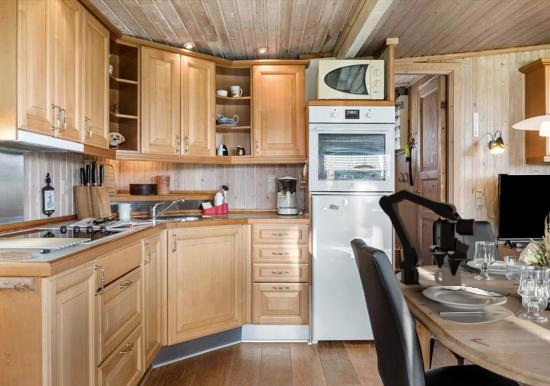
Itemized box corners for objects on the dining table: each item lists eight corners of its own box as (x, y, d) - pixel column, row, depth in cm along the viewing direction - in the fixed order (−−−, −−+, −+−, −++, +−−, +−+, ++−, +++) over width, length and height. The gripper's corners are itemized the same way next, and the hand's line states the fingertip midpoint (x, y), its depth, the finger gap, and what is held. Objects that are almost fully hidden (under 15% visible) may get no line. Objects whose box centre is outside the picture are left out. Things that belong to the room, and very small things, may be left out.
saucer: (480, 298, 152) (480, 295, 152) (457, 288, 167) (457, 285, 167) (517, 296, 154) (517, 293, 154) (491, 286, 169) (491, 284, 169)
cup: (462, 291, 161) (462, 268, 161) (435, 289, 164) (435, 267, 164) (459, 286, 168) (459, 265, 168) (433, 285, 171) (433, 263, 171)
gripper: (480, 237, 157) (480, 277, 158) (453, 231, 176) (453, 268, 176) (452, 237, 156) (452, 278, 156) (428, 232, 174) (428, 268, 175)
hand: (447, 273), depth 166 cm, fingers open, 9 cm apart
